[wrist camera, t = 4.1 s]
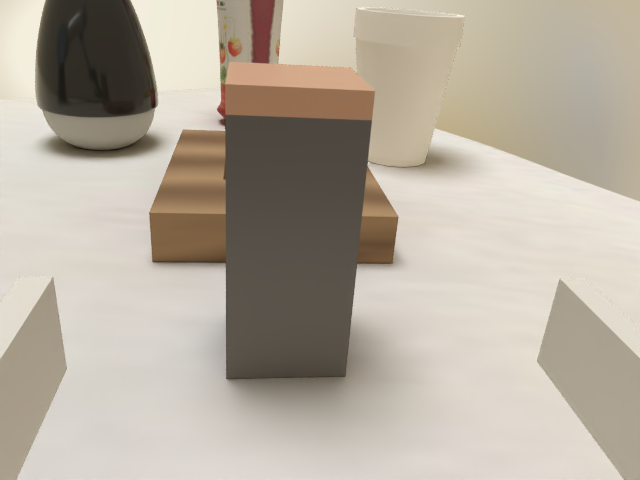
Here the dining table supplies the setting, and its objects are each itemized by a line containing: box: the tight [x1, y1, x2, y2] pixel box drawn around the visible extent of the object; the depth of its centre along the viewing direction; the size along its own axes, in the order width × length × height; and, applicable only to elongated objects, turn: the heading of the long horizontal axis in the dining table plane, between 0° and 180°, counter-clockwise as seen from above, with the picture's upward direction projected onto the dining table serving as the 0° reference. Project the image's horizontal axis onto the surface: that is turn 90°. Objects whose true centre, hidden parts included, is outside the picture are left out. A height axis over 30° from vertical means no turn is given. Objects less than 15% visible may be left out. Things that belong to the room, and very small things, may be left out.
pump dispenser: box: [35, 0, 158, 150], centre depth 50 cm, size 10×10×15 cm
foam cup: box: [354, 7, 465, 167], centre depth 52 cm, size 10×9×13 cm
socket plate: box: [149, 130, 398, 263], centre depth 41 cm, size 18×14×3 cm
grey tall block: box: [225, 62, 375, 379], centre depth 24 cm, size 5×5×12 cm
